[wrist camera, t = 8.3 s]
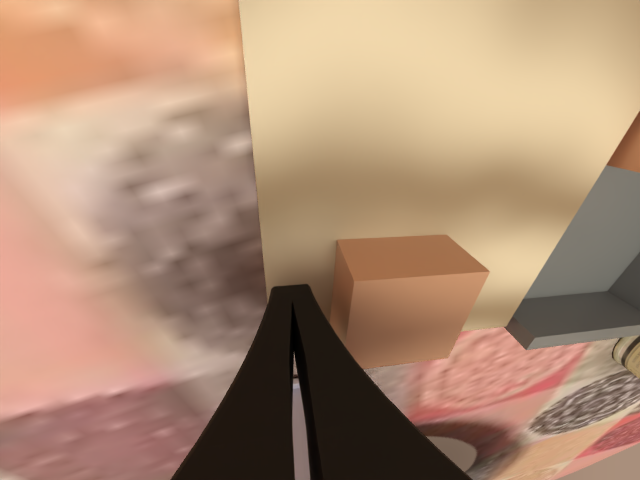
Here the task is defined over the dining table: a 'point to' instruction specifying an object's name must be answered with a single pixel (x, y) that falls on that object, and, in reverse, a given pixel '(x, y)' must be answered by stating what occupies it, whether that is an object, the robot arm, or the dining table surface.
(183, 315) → the dining table surface
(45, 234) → the dining table surface
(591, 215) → the tray
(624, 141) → the tile right
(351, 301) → the tile left
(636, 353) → the coffee can
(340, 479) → the robot arm
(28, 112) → the dining table surface
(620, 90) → the board
